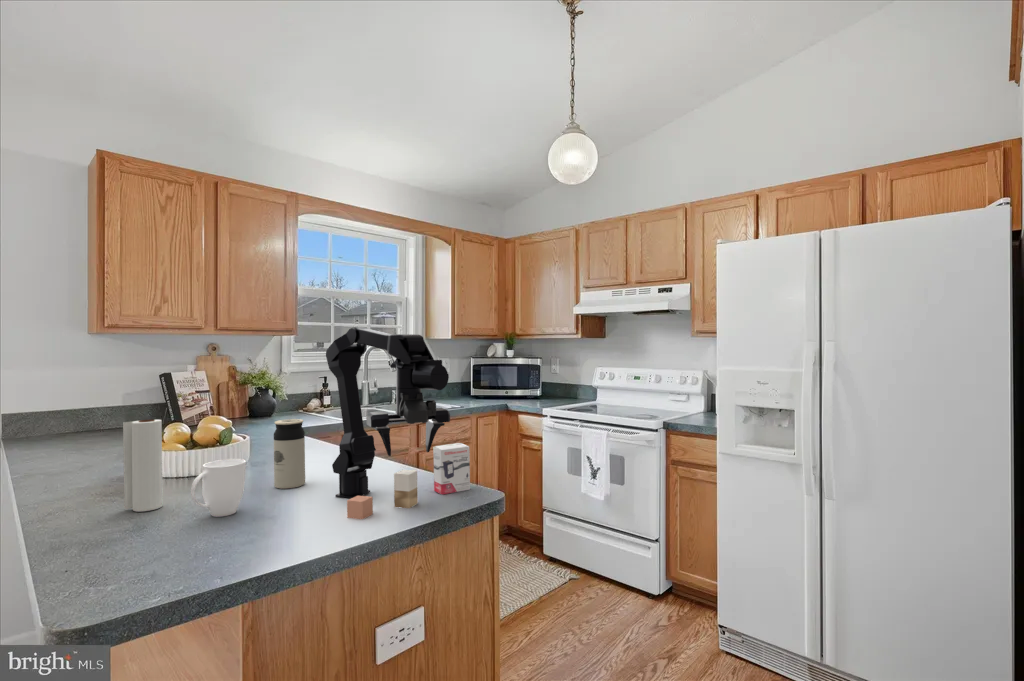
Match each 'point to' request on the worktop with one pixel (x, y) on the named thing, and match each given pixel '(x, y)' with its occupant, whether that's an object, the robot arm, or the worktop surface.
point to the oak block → (406, 498)
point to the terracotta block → (359, 507)
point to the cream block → (405, 480)
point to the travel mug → (289, 454)
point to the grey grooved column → (142, 465)
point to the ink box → (451, 468)
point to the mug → (221, 486)
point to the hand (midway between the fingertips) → (408, 453)
